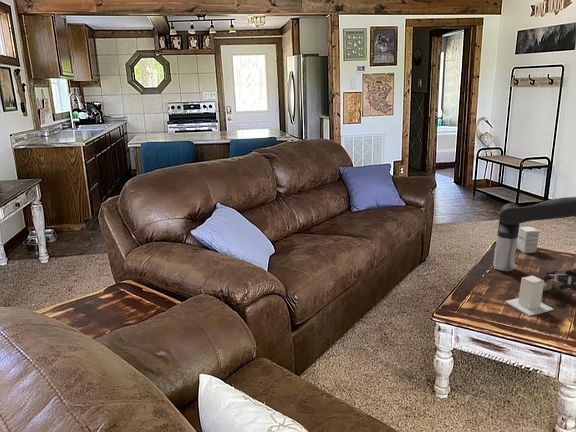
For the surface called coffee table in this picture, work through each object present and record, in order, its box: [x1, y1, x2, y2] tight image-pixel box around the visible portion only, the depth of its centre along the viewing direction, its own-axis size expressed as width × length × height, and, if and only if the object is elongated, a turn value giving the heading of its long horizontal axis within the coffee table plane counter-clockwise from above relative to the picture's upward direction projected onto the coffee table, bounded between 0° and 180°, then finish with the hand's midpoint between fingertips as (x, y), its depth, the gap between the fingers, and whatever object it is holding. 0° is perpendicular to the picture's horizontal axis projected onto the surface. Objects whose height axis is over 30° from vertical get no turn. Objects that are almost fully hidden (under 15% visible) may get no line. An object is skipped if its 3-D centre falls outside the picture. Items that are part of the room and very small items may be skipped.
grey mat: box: [504, 297, 554, 317], centre depth 198 cm, size 13×13×1 cm
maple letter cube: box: [543, 280, 553, 291], centre depth 213 cm, size 4×4×4 cm
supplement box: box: [516, 226, 540, 254], centre depth 255 cm, size 7×7×13 cm
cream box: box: [518, 274, 544, 309], centre depth 196 cm, size 6×6×12 cm
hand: (551, 283), depth 199 cm, fingers open, 8 cm apart
